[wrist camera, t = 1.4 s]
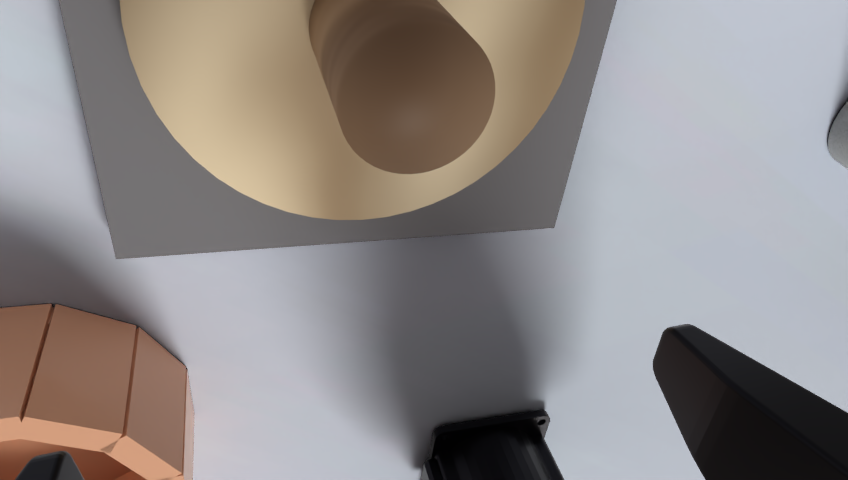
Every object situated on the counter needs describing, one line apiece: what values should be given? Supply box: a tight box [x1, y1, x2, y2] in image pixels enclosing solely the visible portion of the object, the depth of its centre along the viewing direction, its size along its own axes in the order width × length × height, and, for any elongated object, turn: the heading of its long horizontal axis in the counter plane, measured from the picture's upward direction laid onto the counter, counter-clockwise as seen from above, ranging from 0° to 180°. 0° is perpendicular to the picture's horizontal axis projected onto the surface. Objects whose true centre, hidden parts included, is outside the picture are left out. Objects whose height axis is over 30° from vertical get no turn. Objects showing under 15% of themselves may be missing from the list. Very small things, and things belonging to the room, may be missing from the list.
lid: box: [120, 0, 585, 220], centre depth 16 cm, size 13×13×6 cm
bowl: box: [0, 304, 194, 480], centre depth 23 cm, size 11×11×5 cm
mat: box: [59, 0, 617, 259], centre depth 19 cm, size 16×16×1 cm
